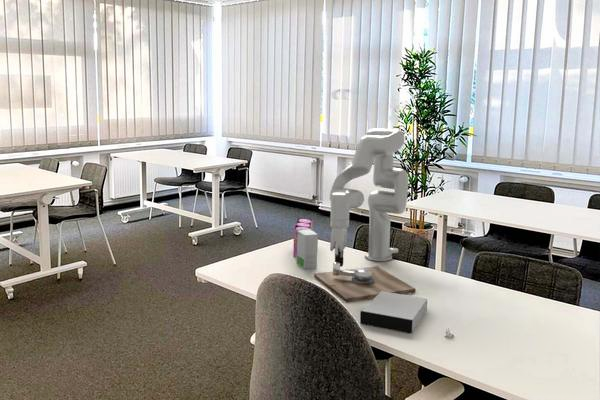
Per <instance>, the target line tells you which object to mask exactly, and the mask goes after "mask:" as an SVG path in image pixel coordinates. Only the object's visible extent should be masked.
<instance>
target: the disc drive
mask: <svg viewBox="0 0 600 400" xmlns="http://www.w3.org/2000/svg"><path fill="white" fill-rule="evenodd" d="M427 310H428V298H425V297H421V296H415V295H408V294H396V293H390V292H384V291H381V292H380V293H379V294H378V295H377V296H376V297H375V298H373V299H371V301H370V302H369V303H368V304H367V305H366V306H365V307H364V309H363V310H360V319H359V324H360V325H364V324H365V326H369V327H370V326H371V327H374V328H379V327H380V328H379V329H386V330H390V331H396V332H399V333H400V332H401V333H405V334H411V335H412V333H413V331H414V329H416V326H417V325H418V323H419V322H420V321H421V320H422V318H423V317H424V315H425V314H426V312H427Z"/></svg>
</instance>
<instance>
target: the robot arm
mask: <svg viewBox="0 0 600 400" xmlns="http://www.w3.org/2000/svg"><path fill="white" fill-rule="evenodd" d="M404 134H405V133H403V131H401V130H400V129H393V128H392V129H390V128H370V129H369V130H367V131H366V135H363V136H362V137H361V138H360V139H359V142H358V144H357V148H356V149H355V153H354V155H353V158H352V161H351V163H350V165H348V166H347V167H345V168H344V169H343V170H342V171H341V172H340V173H339V174H337V176H336V177H335V179H334V181H333V184H332V186H331V189H330V193H329V200H330V227H331V233H330V247H329V250H330V252H333V250H334V262H340V268H341V267H343V266H344V252H345V250H344V249H345V248H346V247H347V244H348V228H349V227H350V209H357V208H360V207H361V206H362V205H363V203H364V201H365V196H364V193H363V192H362V191H360V190H357V189H353V188H352V189H351V188H344V187H345V186H346V185H347V184H348V183H349V182H350V181H352V180H354V179H357V178H360V177H363V176H366V175H368V174H369V173H370V172H371V169H372V167H373V175H372V177H373V178H372V179H373V181H372V183H373V185H374V186H375V187H378V188H381V189H389V190H394V191H389V190H388V191H387V190H373V191H371V192H370V194H369V195H368V198H367V204H368V212H369V213H368V214H369V223H368V224H369V226H368V252H366V253H365V254H364V258H365V259H367V260H369V261H373V262H388V261H390V260H392V259H393V255H392V254H396V253H399V248H393V247H390V238H391V237H390V236H391V235H390V234H391V220H390V216H389V215H388V214H396V215H401V214H403V213H404V212H405V210H406V209H407V202H408V192H409V191H408V189H409V175H408V171H406V170H405V169H403V168H397V167H394V153H396V152H398V151H399V150H400V149H401V148H402V147H403V146H404V143H405V135H404Z"/></svg>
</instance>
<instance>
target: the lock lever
mask: <svg viewBox="0 0 600 400" xmlns="http://www.w3.org/2000/svg"><path fill="white" fill-rule="evenodd" d="M332 264H333V265H332V272H333V275H335V276H339V275H344V276H353V277H354V278H355V279H356V280H360V281H368V280H371V279H372V270H370V269H367V268H366V267H358V268H354V269H355V272H353V271H344V270H345V269H344V270H341V267H340V262H335V261H333V262H332Z"/></svg>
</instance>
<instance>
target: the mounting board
mask: <svg viewBox="0 0 600 400" xmlns="http://www.w3.org/2000/svg"><path fill="white" fill-rule="evenodd" d="M365 268H367V269H370V270H372V279H371V280H368V281H360V280H356V279H355V278H354V277H353V276H344V275H339V276H335V275H333V271H326V272H317V273H314V274H313V277H314V279H316V281H318V282H319V283H320V284H322V285H324V286H325V288H327V289H328V290H329V291H331V292H332V293H333V294H334V295H336V297H338V298H340V300H341V301H343V302H345V303H350V302H358V301H363V300H373V299H374V298H375V297H376V296H377V295H378V294H379V293H380V292H381V291H384V292H390V293H396V294H402V295H408V294H414V293H416V288H415V287H413V286H412V285H410V284H408V283H407V282H404V281H403V280H401V279H399V278H398V277H396V276H395V275H393V274H391V273H390V272H388V271H386V270H385V269H383V268H382V267H380V266H379V265H377V266H376V265H375V266H367V267H365ZM355 269H356V268H351V269H348V268H347V269H344V271H353V272H355Z"/></svg>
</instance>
